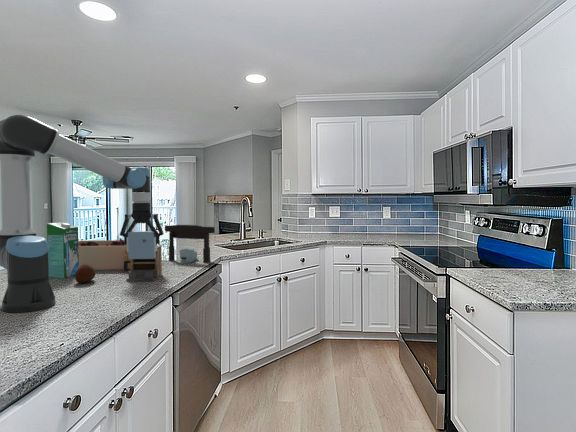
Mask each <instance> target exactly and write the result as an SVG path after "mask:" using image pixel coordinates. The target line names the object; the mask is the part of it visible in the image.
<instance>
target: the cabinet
mask: <svg viewBox="0 0 576 432" xmlns="http://www.w3.org/2000/svg"><path fill="white" fill-rule="evenodd" d="M162 253H163V252H162V245H157V251H156V258H155V259H130V271H128V278H126V279H125V280H126V282H155V281H156V279H159V278H160V277H161V276H162V275H163V271H162V269H163V268H162V266H163V264H162V261H163V260H162Z"/></svg>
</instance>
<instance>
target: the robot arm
mask: <svg viewBox="0 0 576 432" xmlns="http://www.w3.org/2000/svg"><path fill="white" fill-rule="evenodd" d="M35 152H37V153H40V154H42V155H49V154H50V155H52V156H54V157H56V158H60V159H61V160H63V161H67V162H68V163H71V164H73V165H76V166H78V167H80V168H83V169H84V170H87V171H89V172H92V173H94V174H97V175H99V176H101V177H102V184H103V187H104V188H106V189H111V190H113V189H114V190H116V189H118V190H119V189H124V190H126V189H129V190H131V202H133V203H132V205H131V210H132V212H131V213H125V214H124V221H123V223H122V227H121V229H120V232H119V236H121V237H123V240H124V243H125V244H127V252H128V232H131V231H134V228H135V227H136V225H137V224H146V225H147V227H149V229H150V231H152V232H154V234H155V237H154V252H156V251H157V246H158V245H159V244H160V237H161V236H163V235H164V234H165V233H164V231H163V230H164V229H163V228H162V225H161V223H160V220H159V214H158V213H151V203H150V201H151V174H150V169H149V168H148V167H146V166H145V167H144V166H143V167H141V166H134V167H133V166H132V167H130V166H128V165H125V164H123V163H121V162H119V161H117V160H115V159H113V158H111V157H109V156H106V155H105V154H102V153H100V152H97V151H96V150H93V148H89V147H87V146H86V145H83V144H81V143H78V142H76V141H75V140H73V139H70V138H68V137H66V136H63V135H62V134H60V133H59V132H58V130H57V129H56V128H54V127H52V126H50V125H47V124H45V123H44V122H42V121H39V120H37V119H36V118H33V117H30V116H28V115H24V114H14V115H10V116H8V117H6V118H5V119H1V120H0V188H1V189H0V191H1V192H0V193H1V194H0V195H1V196H0V198H1V229H0V266H1V267H2V268H3V269H6V274H7V275H6V276H7V277H6V278H7V288H6V289H5V293H4V296H3V298H2V302H1V311H2V312H6V313H27V312H34V311H39V310H44V309H48V308H50V307H52V306H55V305H56V295H55V294H54V290H53V288H52V286H51V283H50V277H49V264H48V250H49V247H48V242H47V238H45V237H42V236H40V235H39V236H37V232H36V231H35V230H34V229H32V209H31V208H32V207H31V204H32V203H31V202H32V201H31V200H32V198H31V162H32V161H33V160H34V159H35V158H36V153H35ZM131 218H132V219H133V221H132V222H131V224H130V225H129V221H130V219H131ZM151 218H152V219H153V221H154V224H155V225H156V228H155V226H154V225H153V223H152V221H151ZM128 225H129V227H128Z"/></svg>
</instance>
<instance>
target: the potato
mask: <svg viewBox="0 0 576 432" xmlns="http://www.w3.org/2000/svg"><path fill="white" fill-rule="evenodd" d="M95 276H96V270H94V268H93V267H92V266H90V265H86V264H85V265H82V266H80V267H79V268H78V270H77V271H76V273H75V276H74V280H75V281H76V282H77V283H78V284H84V283H88V282H91V281H92V280H94V278H95Z"/></svg>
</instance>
